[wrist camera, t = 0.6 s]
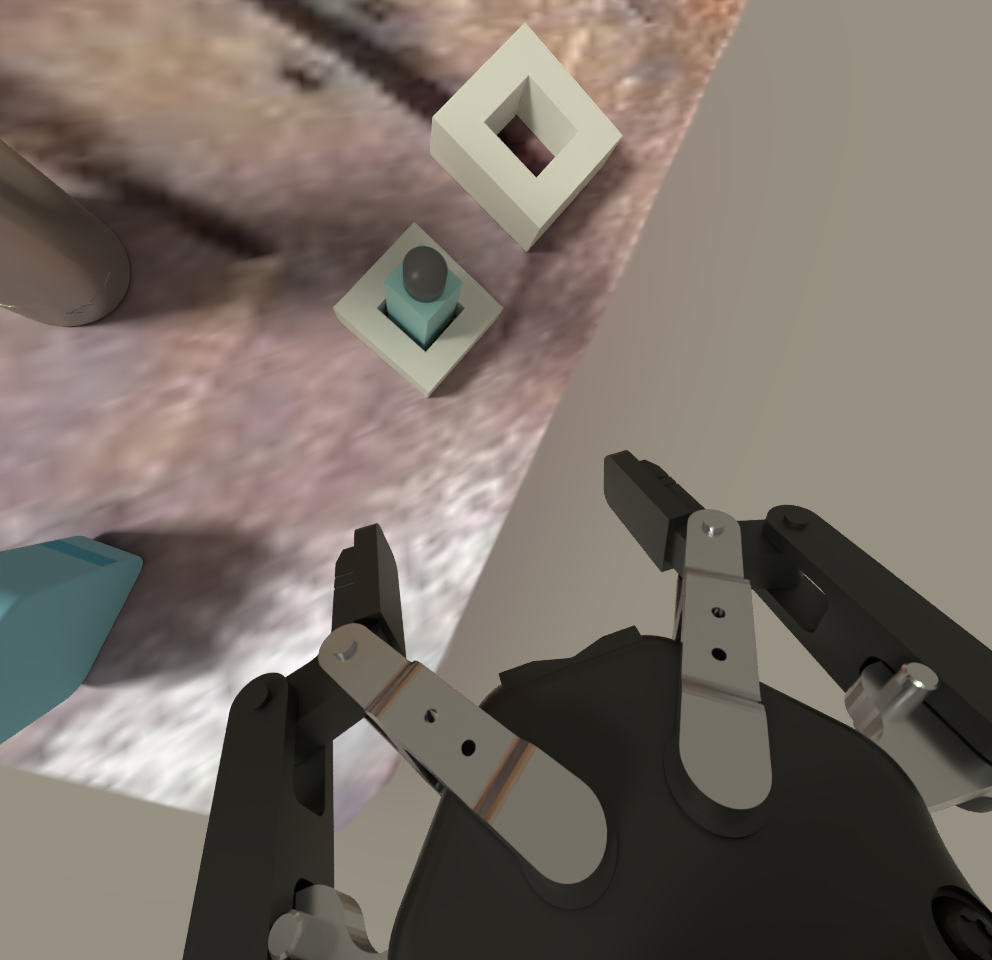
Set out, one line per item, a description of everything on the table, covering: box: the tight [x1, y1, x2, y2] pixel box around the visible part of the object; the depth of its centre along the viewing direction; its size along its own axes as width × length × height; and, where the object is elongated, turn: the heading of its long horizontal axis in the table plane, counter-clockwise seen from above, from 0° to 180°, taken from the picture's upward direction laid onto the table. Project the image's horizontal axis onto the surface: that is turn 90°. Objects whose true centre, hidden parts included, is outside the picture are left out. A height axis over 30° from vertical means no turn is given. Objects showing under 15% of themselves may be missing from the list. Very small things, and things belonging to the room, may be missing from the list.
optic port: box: [430, 23, 623, 252], centre depth 37 cm, size 12×12×4 cm
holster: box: [333, 222, 503, 398], centre depth 36 cm, size 10×10×3 cm
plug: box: [384, 242, 463, 351], centre depth 32 cm, size 4×4×10 cm
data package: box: [0, 536, 143, 744], centre depth 27 cm, size 12×4×12 cm, turn 155°
